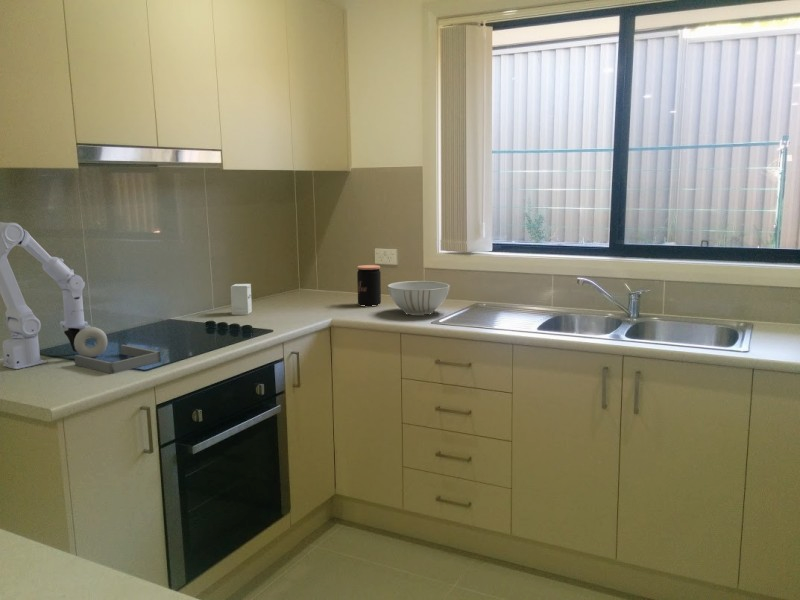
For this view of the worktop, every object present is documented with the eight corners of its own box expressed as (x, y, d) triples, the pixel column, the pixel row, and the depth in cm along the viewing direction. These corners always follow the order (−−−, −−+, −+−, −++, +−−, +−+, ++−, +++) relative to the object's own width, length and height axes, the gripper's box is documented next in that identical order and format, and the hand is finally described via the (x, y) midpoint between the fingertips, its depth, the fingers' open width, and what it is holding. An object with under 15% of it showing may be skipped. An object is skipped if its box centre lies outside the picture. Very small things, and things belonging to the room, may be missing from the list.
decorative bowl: (416, 321, 270) (416, 291, 268) (375, 312, 290) (374, 285, 288) (462, 313, 287) (462, 285, 285) (420, 305, 307) (420, 279, 305)
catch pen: (111, 373, 196) (111, 363, 196) (75, 364, 207) (74, 355, 206) (160, 361, 210) (160, 351, 210) (124, 353, 220) (123, 344, 220)
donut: (107, 353, 220) (105, 324, 219) (109, 356, 217) (107, 325, 216) (74, 358, 215) (71, 328, 213) (76, 360, 212) (73, 329, 210)
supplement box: (248, 315, 287) (247, 285, 285) (231, 315, 287) (229, 286, 285) (252, 311, 294) (251, 283, 292) (235, 312, 294) (234, 283, 292)
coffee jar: (355, 303, 313) (354, 265, 310) (377, 302, 316) (376, 264, 313) (361, 307, 303) (360, 268, 300) (383, 306, 306) (383, 267, 303)
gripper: (98, 310, 217) (101, 351, 220) (72, 306, 225) (76, 345, 228) (77, 313, 212) (81, 355, 214) (52, 309, 219) (56, 349, 222)
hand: (77, 350), depth 220 cm, fingers closed
